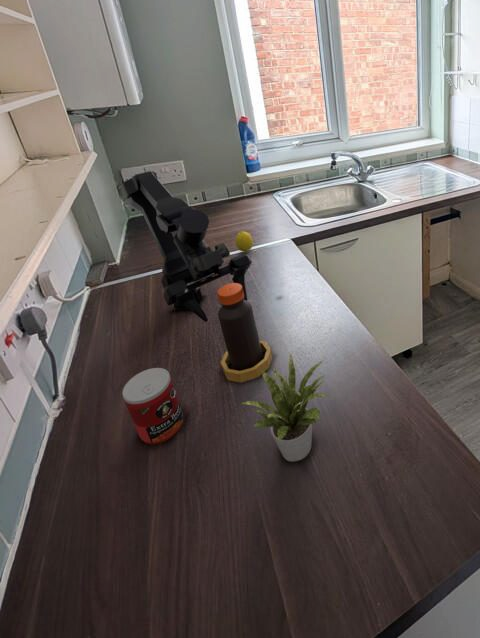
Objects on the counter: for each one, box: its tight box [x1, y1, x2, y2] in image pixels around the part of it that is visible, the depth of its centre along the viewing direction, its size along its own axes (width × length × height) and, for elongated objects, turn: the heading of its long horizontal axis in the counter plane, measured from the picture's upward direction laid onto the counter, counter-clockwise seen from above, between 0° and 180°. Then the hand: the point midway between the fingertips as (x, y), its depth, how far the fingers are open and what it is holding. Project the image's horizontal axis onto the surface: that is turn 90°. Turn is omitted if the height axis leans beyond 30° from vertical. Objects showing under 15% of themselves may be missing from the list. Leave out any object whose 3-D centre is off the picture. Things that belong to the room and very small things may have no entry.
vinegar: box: [216, 282, 264, 371], centre depth 87 cm, size 7×7×20 cm
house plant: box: [240, 353, 330, 463], centre depth 68 cm, size 14×14×16 cm
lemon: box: [235, 230, 254, 253], centre depth 139 cm, size 6×6×8 cm
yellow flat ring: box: [220, 339, 273, 384], centre depth 90 cm, size 10×11×2 cm
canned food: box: [122, 367, 184, 445], centre depth 74 cm, size 8×8×11 cm
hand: (227, 310), depth 89 cm, fingers open, 9 cm apart
